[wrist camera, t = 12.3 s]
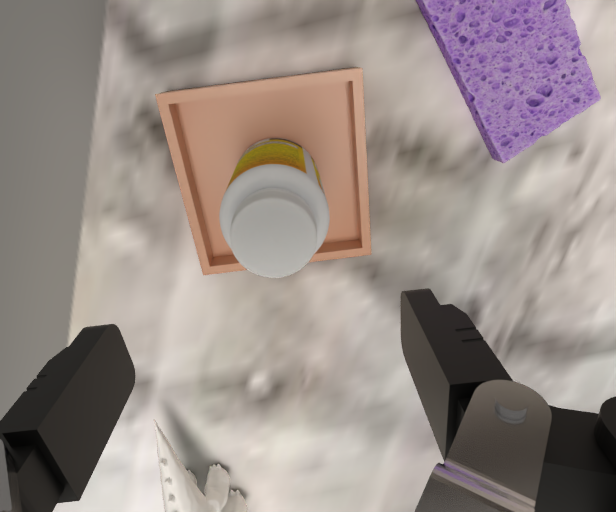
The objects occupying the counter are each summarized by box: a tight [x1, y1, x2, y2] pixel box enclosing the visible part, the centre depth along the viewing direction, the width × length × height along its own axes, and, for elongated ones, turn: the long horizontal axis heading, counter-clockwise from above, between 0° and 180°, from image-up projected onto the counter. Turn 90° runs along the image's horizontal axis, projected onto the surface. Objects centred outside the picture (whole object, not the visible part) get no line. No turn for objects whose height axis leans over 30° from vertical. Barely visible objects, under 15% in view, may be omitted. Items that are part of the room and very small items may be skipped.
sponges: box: [416, 0, 601, 163], centre depth 25 cm, size 7×13×2 cm, turn 35°
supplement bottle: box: [219, 138, 330, 278], centre depth 22 cm, size 6×6×10 cm
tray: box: [155, 67, 371, 275], centre depth 27 cm, size 12×12×2 cm
